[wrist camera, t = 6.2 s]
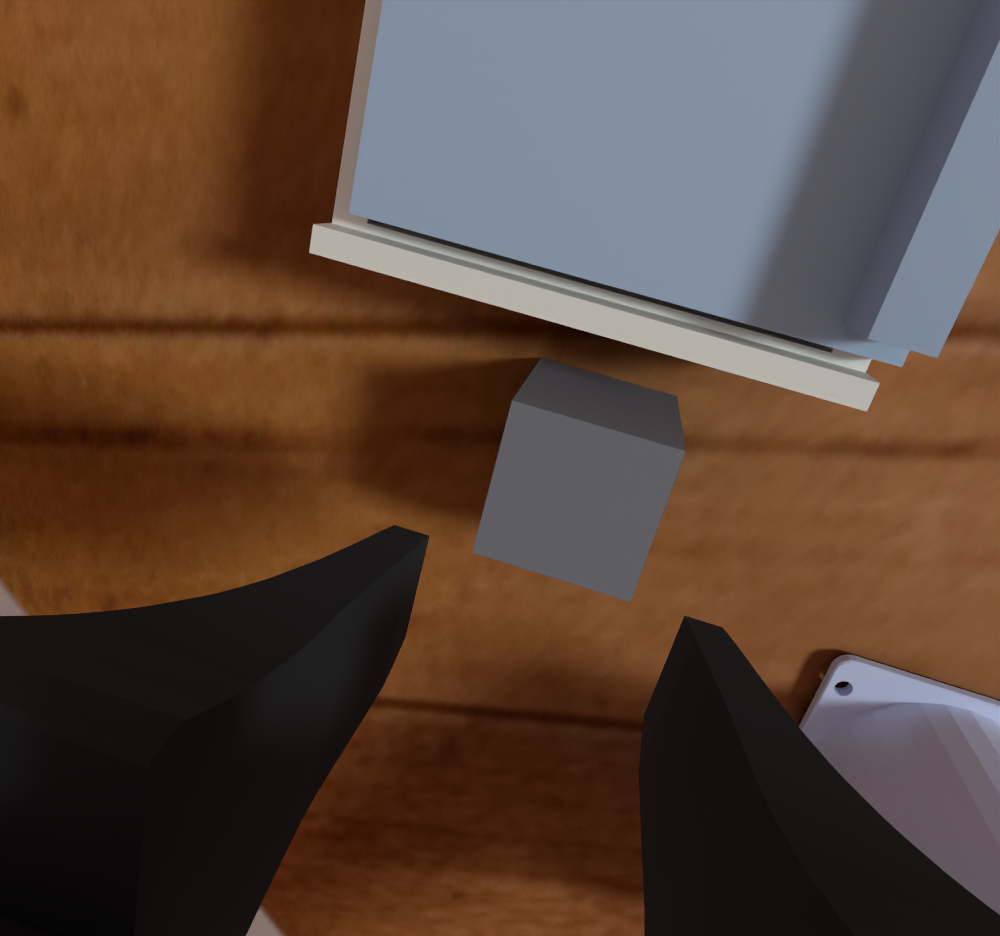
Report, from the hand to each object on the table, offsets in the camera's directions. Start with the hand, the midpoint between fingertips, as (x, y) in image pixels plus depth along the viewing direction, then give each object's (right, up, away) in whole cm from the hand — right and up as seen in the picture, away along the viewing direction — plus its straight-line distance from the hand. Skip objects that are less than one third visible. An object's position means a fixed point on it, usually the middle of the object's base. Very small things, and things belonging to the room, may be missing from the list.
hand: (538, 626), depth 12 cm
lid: (+3, +10, +2) cm, 11 cm away
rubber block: (+2, +3, +10) cm, 11 cm away
